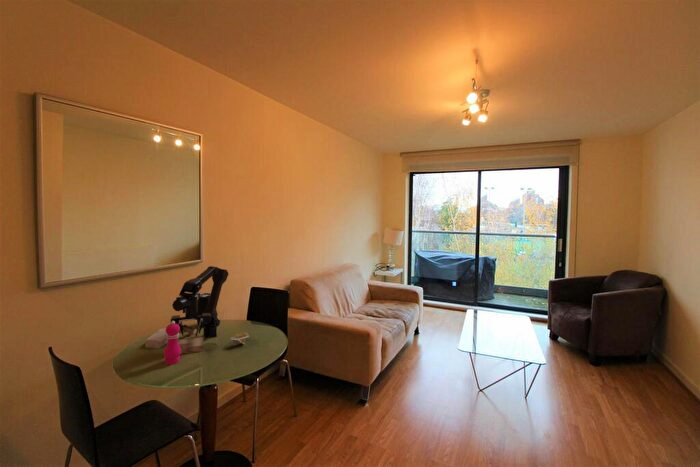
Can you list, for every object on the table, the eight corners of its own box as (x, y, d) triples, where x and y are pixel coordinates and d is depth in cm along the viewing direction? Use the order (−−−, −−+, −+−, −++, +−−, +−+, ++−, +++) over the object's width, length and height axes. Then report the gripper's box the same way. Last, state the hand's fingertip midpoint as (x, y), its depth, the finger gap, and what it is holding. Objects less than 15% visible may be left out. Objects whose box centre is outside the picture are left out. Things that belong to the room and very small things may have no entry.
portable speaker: (213, 326, 199) (214, 295, 198) (197, 328, 195) (197, 297, 193) (211, 321, 207) (212, 292, 205) (195, 323, 202) (196, 293, 200)
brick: (160, 348, 167) (161, 339, 167) (144, 347, 167) (144, 339, 166) (176, 336, 184) (176, 328, 183) (161, 335, 183) (161, 327, 183)
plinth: (203, 341, 177) (203, 336, 177) (203, 350, 166) (203, 345, 166) (178, 344, 172) (178, 339, 172) (177, 354, 161) (177, 348, 161)
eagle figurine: (198, 331, 174) (179, 329, 171) (200, 322, 171) (181, 321, 167) (195, 343, 168) (177, 342, 165) (198, 334, 165) (179, 333, 161)
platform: (260, 344, 178) (260, 333, 178) (229, 354, 166) (229, 341, 165) (250, 337, 187) (250, 327, 186) (219, 346, 174) (219, 334, 174)
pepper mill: (169, 366, 149) (169, 324, 147) (160, 361, 153) (161, 321, 151) (184, 360, 155) (184, 320, 154) (175, 356, 159) (176, 317, 157)
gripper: (210, 299, 179) (209, 326, 180) (172, 302, 171) (172, 330, 172) (211, 305, 169) (210, 334, 170) (170, 308, 161) (170, 338, 162)
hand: (191, 334), depth 169 cm, fingers closed on eagle figurine, 7 cm apart
